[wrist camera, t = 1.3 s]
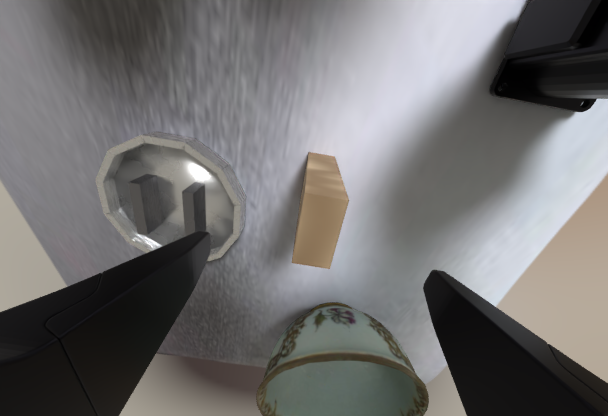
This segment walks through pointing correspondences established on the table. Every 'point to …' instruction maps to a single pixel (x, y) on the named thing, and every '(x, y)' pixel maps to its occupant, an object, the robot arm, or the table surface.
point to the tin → (170, 192)
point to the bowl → (340, 369)
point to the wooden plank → (320, 212)
